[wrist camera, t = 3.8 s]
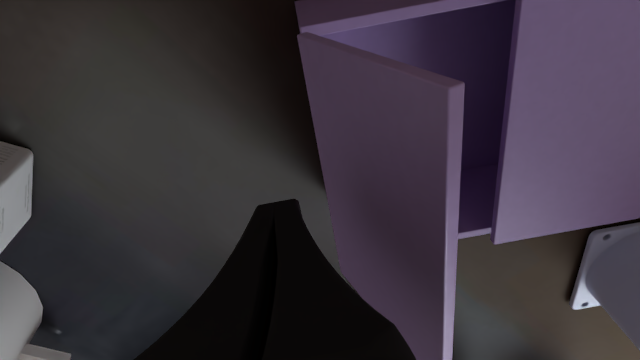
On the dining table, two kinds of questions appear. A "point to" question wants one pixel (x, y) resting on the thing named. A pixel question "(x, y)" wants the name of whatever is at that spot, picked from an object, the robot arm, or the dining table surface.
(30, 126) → the dining table surface
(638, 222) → the robot arm
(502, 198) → the storage box
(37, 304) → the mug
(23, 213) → the ink box
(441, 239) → the flap
